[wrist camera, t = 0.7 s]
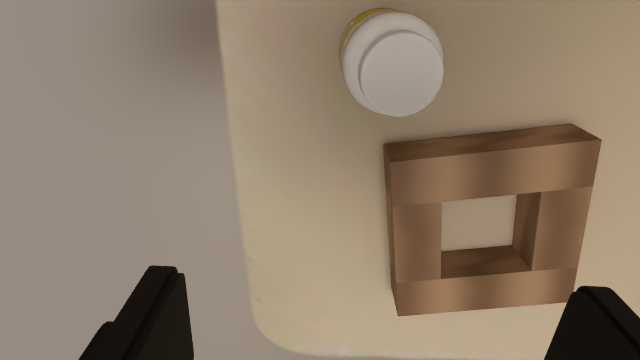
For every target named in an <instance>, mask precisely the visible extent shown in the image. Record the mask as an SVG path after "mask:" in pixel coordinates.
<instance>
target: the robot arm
mask: <svg viewBox="0 0 640 360" xmlns="http://www.w3.org/2000/svg"><path fill="white" fill-rule="evenodd" d="M193 351H194V350H193V342H192V334H191V325H190V317H189V308H188V300H187V291H186V283H185V276H184V274H183V273H178V271H177V269H176V267H172V266H149V268H148V269H147V270H146V272H145V273H144V275H143V277H142V278H141V280H140V281H139V283H138V284H137V286H136V287H135V289H134V291H133V292H132V294H131V295H130V297H129V299H128V300H127V301H126V303H125V305H124V306H123V308H122V309H121V311H120V312H119V314H118V316H117V317H116V319H115V320H114V322H109V321H108V322H106V323H104V324H103V325H102V326H101V327H100V329H99V330H98V331H97V333H96V334H95V336H94V337H93V339H92V341H91V342H90V343H89V345H88V346H87V348H86V349H85V351H84V352H83V354H82V355H81V357H80V358H79V360H193V359H194V352H193ZM544 360H640V318H639V317H638V316H637V315H636V314H635V313H634V312H633V311H632V310H631V308H630V307H629V306H628V305H627V304H626V303H625V302H624V301H623V300H622V299H621V298H620V297H619V296H618V295H617V294H616V293H615V292H614V291H613V290H612V289H610V288H608V287H596V286H581V287H579V288H578V289H577V291H576V292H573V293H571V295H570V297H569V299H568V302H567V304H566V307H565V309H564V312H563V314H562V317H561V319H560V321H559V324H558V326H557V329H556V331H555V334H554V336H553V339H552V341H551V344H550V346H549V349H548V351H547V354H546V356H545V358H544Z"/></svg>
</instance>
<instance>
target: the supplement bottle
mask: <svg viewBox="0 0 640 360" xmlns="http://www.w3.org/2000/svg"><path fill="white" fill-rule="evenodd" d="M339 57H340V63H341V67H342V72H343V76H344V79H345V82H346V85H347V87H348V89H349V91H350V93H351V95H352V96H353V97H354V99H355V100H356V101H357V102H358V103H359V104H361V105H362V106H363V107H365V108H366V109H368V110H370V111H372V112H375V113H379V114H384V115H388V116H392V117H405V116H410V115H413V114H415V113H418V112H420V111H421V110H423V109H424V108H426V107H427V106H428V105H429V104H430V103H431V102H432V101H433V100H434V98H435V97H436V96H437V94H438V92H439V90H440V88H441V85H442V82H443V77H444V67H443V52H442V47H441V44H440V41H439V39H438V37H437V35H436V33H435V32H434V30H433V29H432V28H431V27H430V26H429V25H428V24H427V23H426V22H425V21H423V20H422V19H420V18H418V17H416V16H414V15H411V14H408V13H404V12H400V11H396V10H393V9H388V8H377V9H371V10H368V11H365V12H363V13H361V14H360V15H358V16H357V17H355V18H354V19H353V20H352V21H351V22H350V24H349V25H348V26H347V28H346V29H345V31H344V33H343V35H342V38H341V42H340V47H339Z"/></svg>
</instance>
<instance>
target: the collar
mask: <svg viewBox="0 0 640 360" xmlns="http://www.w3.org/2000/svg"><path fill="white" fill-rule="evenodd" d="M600 145H601V139H599V138H598V137H596V136H594V135H592V134H590V133H588V132H586V131H585V130H583V129H581V128H579V127H577V126H575V125H573V124H566V125H557V126H548V127H539V128H530V129H520V130H511V131H502V132H493V133H484V134H475V135H466V136H457V137H448V138H439V139H430V140H420V141H411V142H402V143H393V144H384V145H383V147H384V165H385V182H386V199H387V216H388V234H389V251H390V268H391V286H392V292H393V296H394V301H395V305H396V310H397V314H398V316H408V315H420V314H432V313H444V312H456V311H468V310H480V309H492V308H504V307H516V306H528V305H540V304H552V303H564V302H568V299H569V297H570V295H571V293H573V290H574V284H575V279H576V274H577V268H578V263H579V258H580V252H581V247H582V242H583V236H584V231H585V226H586V220H587V215H588V210H589V204H590V199H591V193H592V188H593V183H594V177H595V172H596V167H597V161H598V156H599V151H600ZM514 194H517V204H516V215H515V225H514V235H513V245H512V246H501V247H490V248H479V249H469V250H458V251H447V252H441V202H444V201H454V200H464V199H474V198H484V197H494V196H504V195H514Z"/></svg>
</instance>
